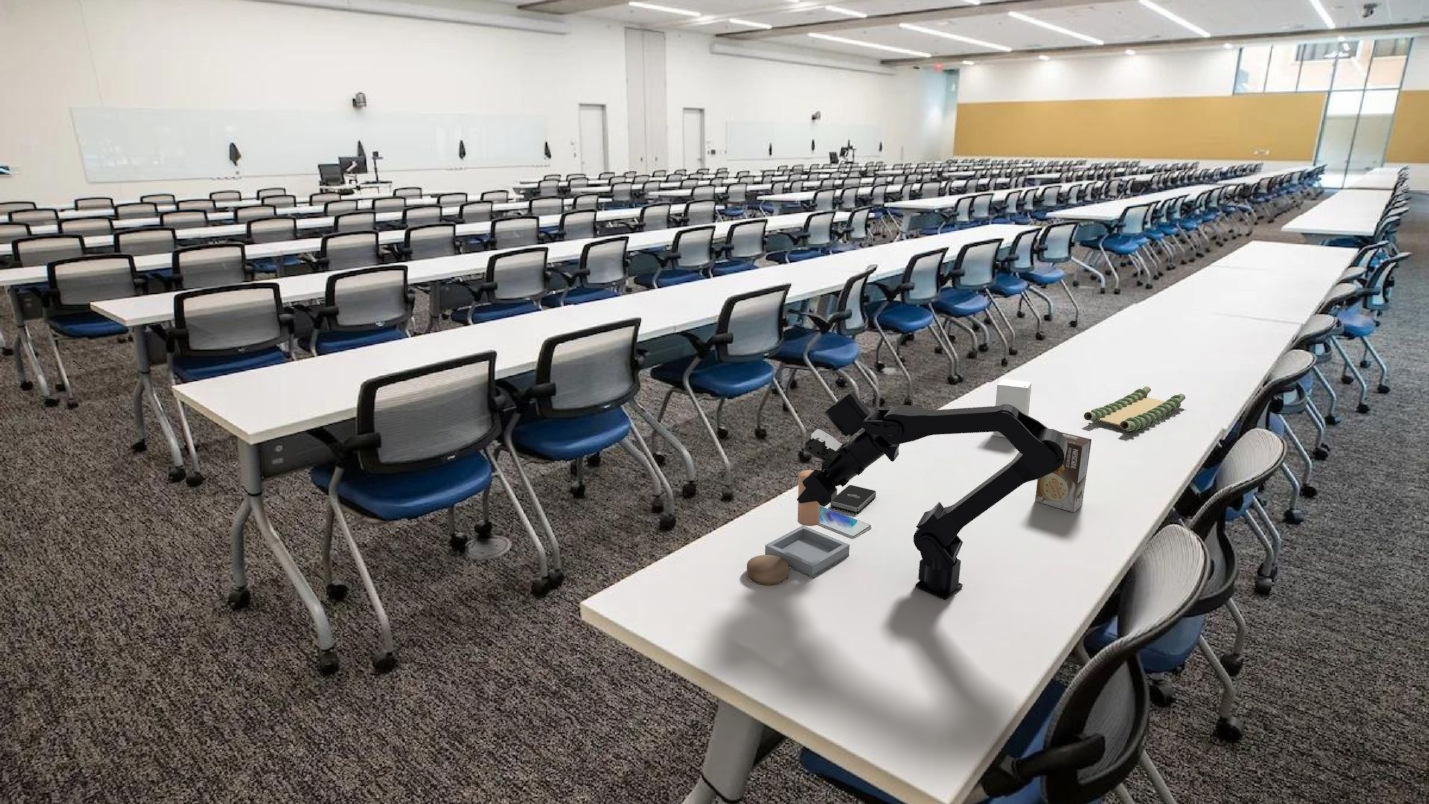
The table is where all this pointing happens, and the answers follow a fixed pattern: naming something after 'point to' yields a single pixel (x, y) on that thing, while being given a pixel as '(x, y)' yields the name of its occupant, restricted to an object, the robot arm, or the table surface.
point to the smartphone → (842, 523)
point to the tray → (808, 550)
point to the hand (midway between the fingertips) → (802, 496)
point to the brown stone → (767, 570)
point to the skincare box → (1013, 396)
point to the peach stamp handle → (807, 505)
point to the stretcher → (1135, 410)
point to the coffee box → (1067, 477)
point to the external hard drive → (853, 499)
